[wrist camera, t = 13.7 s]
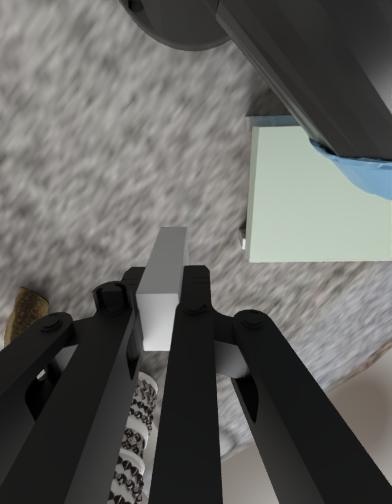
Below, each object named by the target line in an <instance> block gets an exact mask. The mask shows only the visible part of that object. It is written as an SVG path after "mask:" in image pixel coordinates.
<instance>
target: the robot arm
mask: <svg viewBox="0 0 392 504" xmlns="http://www.w3.org/2000/svg"><path fill="white" fill-rule="evenodd" d="M119 1H120V3H121V4H122V5H123V7H124V8H125V10H126V11H127V13H128V14H129V15H130V17H131V18H132V19H133V21H134V22H135V23H136V24H137V25H138V26H139V27H140V28H141V29H142V30H143V31H144V32H146V33H147V34H148V35H149V36H151V37H152V38H153V39H155V40H157V41H158V42H160V43H162V44H164V45H166V46H169V47H171V48H175V49H179V50H185V51H201V50H207V49H211V48H214V47H217V46H219V45H222V44H224V43H226V42H227V41H229V40H231V39H232V40H233V41H234V43H235V44H236V45H237V46H238V48H239V49H240V50H241V51H242V53H243V54H244V55H245V56H246V58H247V59H248V60H249V61H250V63H251V64H252V65H253V66H254V68H255V69H256V70H257V72H258V73H259V74H260V75H261V77H262V78H263V79H264V80H265V82H266V83H267V84H268V85H269V87H270V88H271V89H272V90H273V92H274V93H275V94H276V95H277V97H278V98H279V99H280V100H281V102H282V103H283V104H284V105H285V107H286V108H287V109H288V110H289V112H290V113H291V114H292V115H293V117H294V118H295V119H296V120H297V122H298V123H299V124H300V125H301V127H302V128H303V129H304V131H305V132H306V133H307V134H308V136H309V141H310V143H311V145H312V146H313V147H314V148H315V149H316V151H318V152H319V153H320V154H321V155H323V156H325V157H327V158H329V159H330V160H331V161H332V162H333V163H334V164H335V165H336V166H337V167H338V168H339V169H340V171H341V172H342V173H343V174H344V175H345V176H346V177H347V178H348V179H349V180H350V181H351V182H352V183H353V184H354V185H355V186H356V187H358V188H360V189H361V190H363V191H364V192H367V193H370V194H375V195H377V196H380V197H382V198H384V199H387V200H391V201H392V0H119ZM92 292H93V296H94V301H95V305H96V309H97V311H96V313H95V315H94V316H93V317H89V318H85V319H81V320H76V321H73V319H72V317H71V315H70V314H68V313H65V312H56V313H51V314H48V315H46V316H43V317H41V318H40V319H38V320H37V321H35V322H34V323H33V324H32V325H31V326H30V327H28V328H27V329H26V330H25V331H24V332H23V333H21V334H20V335H19V336H18V337H17V338H15V339H14V340H13V341H12V342H11V343H10V344H8V345H7V346H6V347H5V348H4V349H3V350H1V351H0V504H107V502H108V498H109V493H110V489H111V485H112V481H113V477H114V473H115V469H116V465H117V461H118V457H119V452H120V448H121V444H122V440H123V436H124V432H125V428H126V424H127V420H128V416H129V411H130V407H131V403H132V399H133V395H134V391H135V387H136V383H137V379H138V375H139V370H140V366H141V362H142V357H141V347H142V343H143V346H144V351H170V352H169V359H168V366H167V373H166V380H165V387H164V394H163V402H162V409H161V416H160V423H159V430H158V437H157V445H156V451H155V458H154V465H153V472H152V480H151V487H150V494H149V501H148V504H223V497H222V479H221V460H220V441H219V423H218V405H217V386H216V373H219V374H222V375H226V376H229V377H231V382H232V384H233V387H234V389H235V392H236V394H237V397H238V399H239V402H240V405H241V407H242V410H243V412H244V415H245V417H246V420H247V422H248V425H249V427H250V430H251V433H252V435H253V438H254V440H255V443H256V445H257V448H258V450H259V453H260V455H261V458H262V461H263V463H264V466H265V468H266V471H267V473H268V476H269V478H270V481H271V483H272V486H273V489H274V491H275V494H276V496H277V498H278V501H279V504H392V486H391V485H390V483H389V482H388V481H387V479H386V478H385V476H384V475H383V474H382V472H381V471H380V469H379V468H378V467H377V465H376V464H375V463H374V461H373V460H372V458H371V457H370V456H369V454H368V453H367V451H366V450H365V449H364V447H363V446H362V444H361V443H360V442H359V440H358V439H357V438H356V436H355V435H354V433H353V432H352V431H351V429H350V428H349V427H348V425H347V424H346V422H345V421H344V419H343V418H342V417H341V415H340V414H339V412H338V411H337V410H336V408H335V407H334V406H333V404H332V403H331V401H329V399H328V398H327V396H326V394H325V393H324V392H323V390H322V389H321V387H320V386H319V385H318V383H317V382H316V381H315V379H314V378H313V376H312V375H311V374H310V372H309V371H308V369H307V368H306V367H305V365H304V364H303V362H302V361H301V360H300V358H299V357H298V356H297V354H296V353H295V351H294V350H293V349H292V347H291V346H290V344H289V343H288V342H287V340H286V339H285V337H284V336H283V335H282V333H281V332H280V331H279V329H278V328H277V326H276V325H275V324H274V322H273V321H272V319H271V318H270V317H269V316H268V315H267V314H265V313H263V312H261V311H257V310H253V309H250V310H243V311H239V312H238V313H237V314H235V315H234V317H230V316H226V315H223V314H220V313H219V312H217V311H216V310H215V309H214V308H213V307H212V304H211V289H210V271H209V270H208V268H207V267H206V266H205V265H190V266H189V260H188V236H187V227H161V229H160V231H159V234H158V236H157V239H156V242H155V244H154V247H153V250H152V252H151V255H150V258H149V260H148V263H147V266H146V267H131V268H130V269H129V270H128V271H126V272H125V273H124V275H123V277H122V280H121V281H112V282H107V283H104V284H101V285H100V286H98V287H96V288H95V289H94V290H93V291H92ZM43 369H44V371H45V374H44V375H43V376H42V377H41V378H39V379H37V376H38V374H39V373H40V372H41V371H42V370H43Z"/></svg>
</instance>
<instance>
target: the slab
mask: <svg viewBox="0 0 392 504" xmlns="http://www.w3.org/2000/svg"><path fill="white" fill-rule="evenodd" d="M245 251H246V254H247V257H248V260H249V262H324V261H392V201H391V200H387V199H384V198H382V197H380V196H377V195H375V194H370V193H367V192H364V191H363V190H361V189H360V188H358V187H356V186H355V185H354V184H353V183H352V182H351V181H350V180H349V179H348V178H347V177H346V176H345V175H344V174H343V173H342V172H341V171H340V169H339V168H338V167H337V166H336V165H335V164H334V163H333V162H332V161H331V160H330V159H329V158H327V157H325V156H323V155H321V154H320V153H319V152H318V151H316V149H315V148H314V147H313V146H312V145H311V143H310V141H309V136H308V134H307V133H306V132H305V131H304V129H303V128H302V127H301V125H288V126H253V128H252V144H251V161H250V177H249V193H248V209H247V225H246V241H245Z"/></svg>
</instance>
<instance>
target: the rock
mask: <svg viewBox="0 0 392 504" xmlns="http://www.w3.org/2000/svg"><path fill="white" fill-rule="evenodd" d="M19 292H20V293H19V294H18V296H17V297H16V300H15V305H14V309H13V312H12V313H11V315H10V318H9V320H8V323H7V325H6V331H5V338H4V340H5V342H4V348H5V347H6V346H7V345H8V344H10V343H11V342H12V341H13V340H14V339H15V338H17V337H18V336H19V335H20V334H21V333H23V332H24V331H25V330H26V329H27V328H28V327H30V326H31V325H32V324H33V323H34V322H35V321H37V320H38V319H40V318H41V317H43V316H46V315H48V309H49V304H48V302H47V301H45V300H44V299H43V298H41V297H40V296H39V295H37V294H36V293H34V292H32V291H30V290H26V289H24V288H20V289H19Z"/></svg>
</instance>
